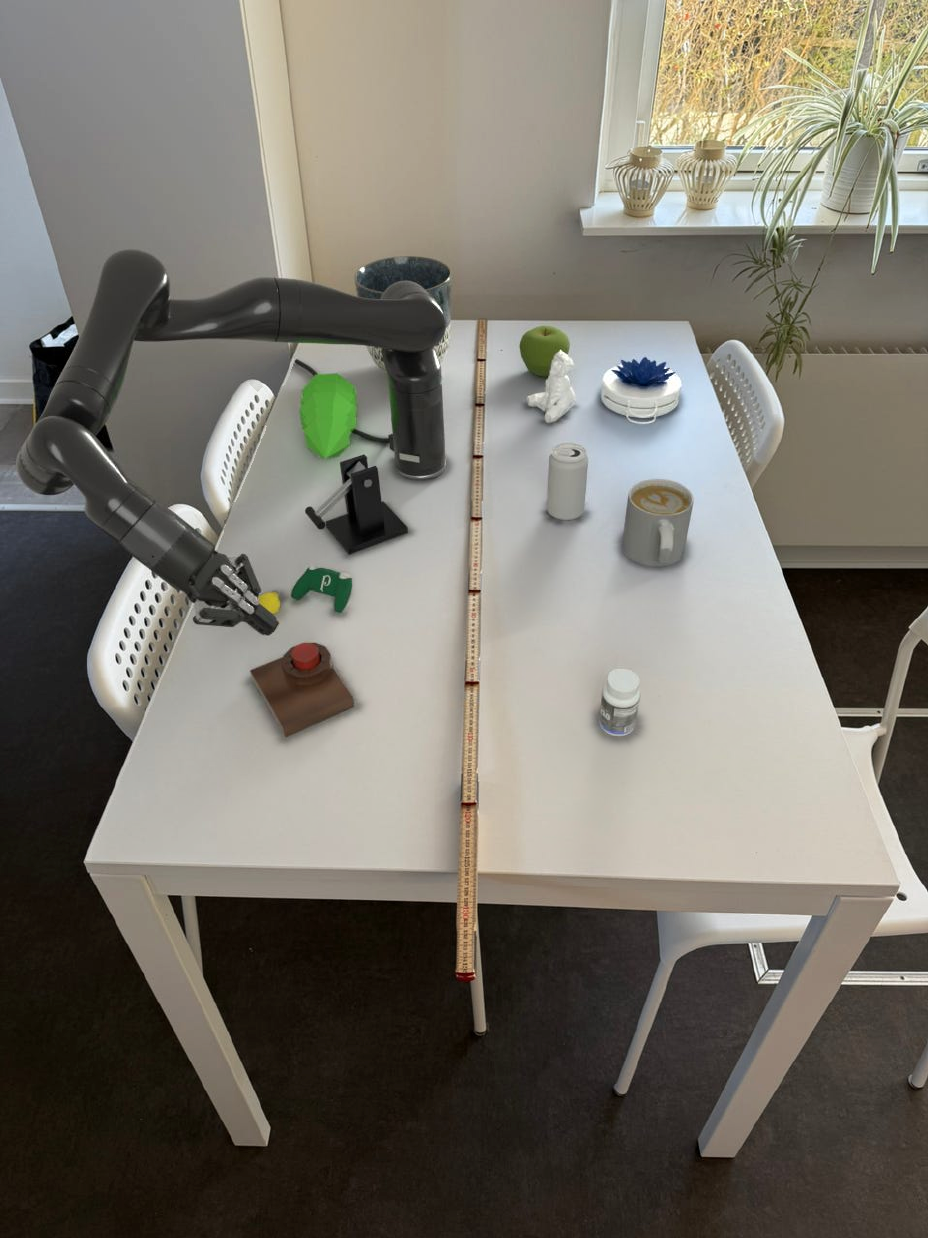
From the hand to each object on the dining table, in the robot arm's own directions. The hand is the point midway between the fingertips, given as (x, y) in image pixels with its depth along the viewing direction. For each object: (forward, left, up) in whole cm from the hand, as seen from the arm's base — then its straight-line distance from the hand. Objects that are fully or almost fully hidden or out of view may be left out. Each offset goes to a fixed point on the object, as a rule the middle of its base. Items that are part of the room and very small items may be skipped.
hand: (273, 629), depth 115 cm
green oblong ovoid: (-53, +31, -9) cm, 62 cm away
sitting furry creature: (-40, +75, -9) cm, 85 cm away
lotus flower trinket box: (-32, +90, -9) cm, 96 cm away
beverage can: (-10, +56, -9) cm, 57 cm away
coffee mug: (+7, +61, -9) cm, 62 cm away
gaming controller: (-12, +12, -9) cm, 19 cm away
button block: (+5, +1, -9) cm, 10 cm away
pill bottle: (+32, +34, -9) cm, 47 cm away
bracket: (-24, +25, -9) cm, 36 cm away
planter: (-70, +58, -9) cm, 91 cm away
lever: (-24, +21, -1) cm, 32 cm away
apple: (-54, +82, -9) cm, 98 cm away
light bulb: (-14, +4, -9) cm, 17 cm away
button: (+3, +3, -5) cm, 6 cm away
